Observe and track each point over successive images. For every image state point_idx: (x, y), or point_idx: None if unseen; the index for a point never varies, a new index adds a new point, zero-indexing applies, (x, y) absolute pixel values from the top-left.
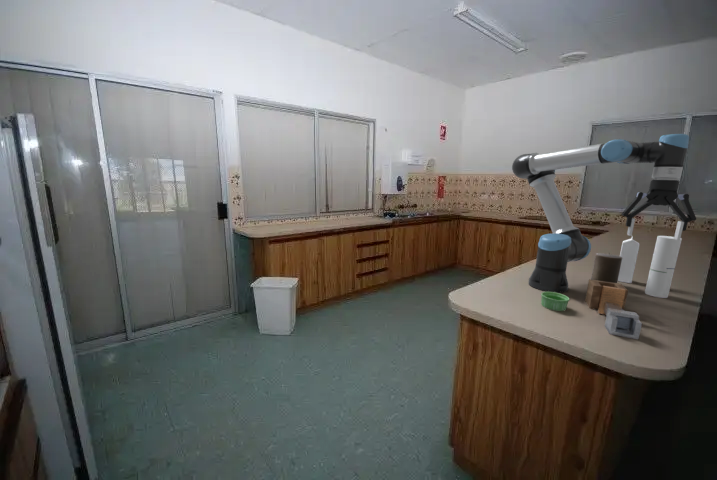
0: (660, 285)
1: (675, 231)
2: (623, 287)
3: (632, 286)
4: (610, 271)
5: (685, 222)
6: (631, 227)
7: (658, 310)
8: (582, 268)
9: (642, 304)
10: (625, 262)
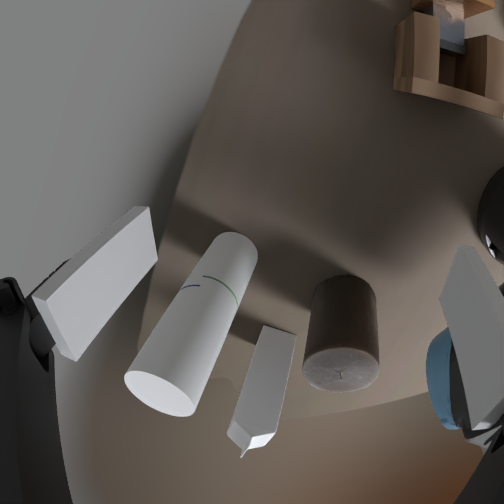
0: (225, 251)
1: (128, 294)
2: (420, 43)
3: (270, 303)
4: (345, 309)
5: (32, 305)
6: (500, 295)
7: (279, 102)
8: (336, 396)
9: (306, 140)
10: (273, 375)
